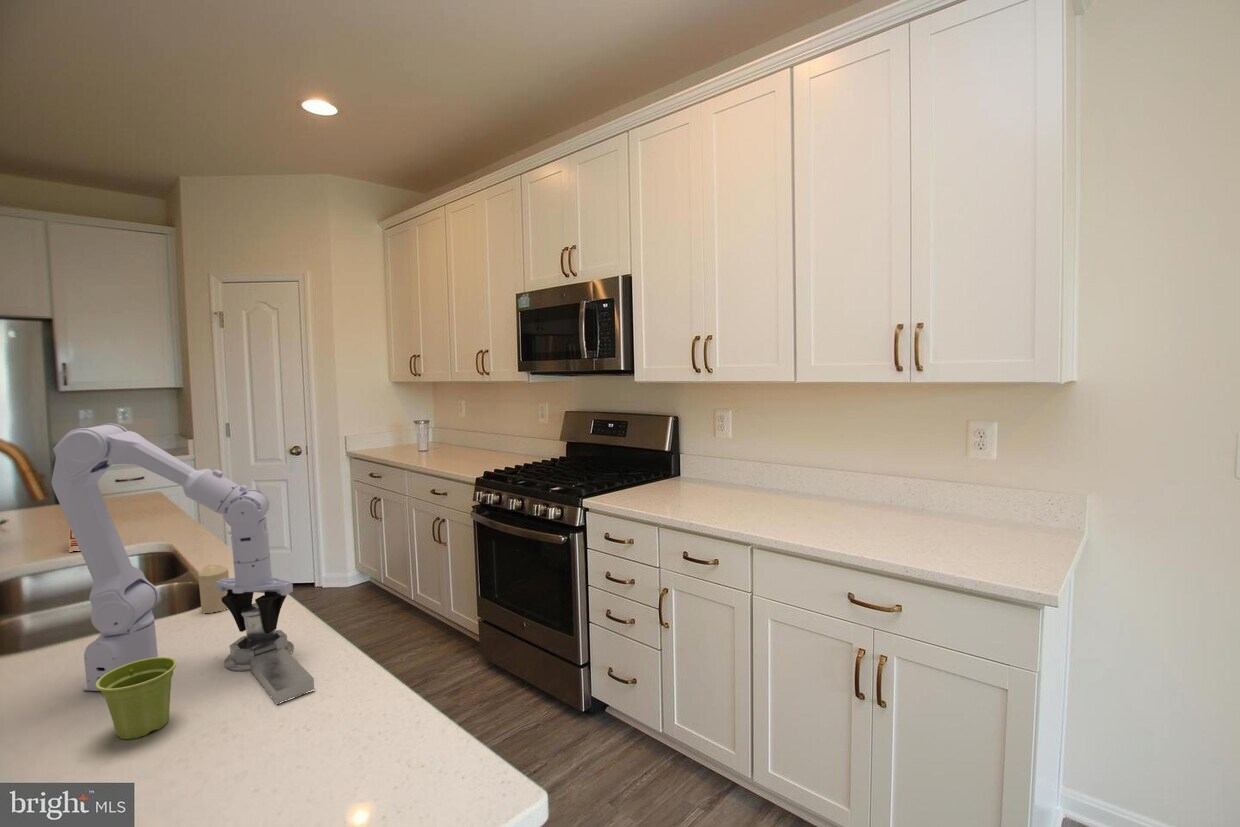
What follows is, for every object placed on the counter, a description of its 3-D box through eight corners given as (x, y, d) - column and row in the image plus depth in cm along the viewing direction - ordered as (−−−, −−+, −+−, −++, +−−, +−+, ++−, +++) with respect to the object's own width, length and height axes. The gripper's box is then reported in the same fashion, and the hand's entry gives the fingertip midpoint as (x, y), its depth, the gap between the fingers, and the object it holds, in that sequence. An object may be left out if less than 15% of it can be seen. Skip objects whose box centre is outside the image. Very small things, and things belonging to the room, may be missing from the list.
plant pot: (87, 753, 84) (80, 694, 84) (122, 715, 93) (116, 662, 93) (165, 740, 87) (159, 682, 86) (192, 705, 96) (187, 652, 95)
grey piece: (332, 684, 101) (330, 667, 101) (257, 712, 93) (256, 693, 93) (283, 636, 119) (282, 622, 119) (218, 657, 112) (216, 641, 111)
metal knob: (244, 647, 108) (239, 616, 108) (247, 636, 113) (242, 606, 112) (276, 639, 111) (271, 608, 110) (277, 628, 115) (272, 598, 114)
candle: (237, 604, 137) (233, 561, 136) (218, 614, 131) (214, 569, 131) (214, 603, 137) (210, 561, 137) (195, 613, 132) (191, 569, 131)
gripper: (199, 564, 107) (205, 637, 109) (269, 567, 105) (276, 642, 106) (231, 551, 114) (237, 620, 115) (298, 554, 111) (304, 625, 113)
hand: (258, 630), depth 111 cm, fingers closed on metal knob, 5 cm apart
